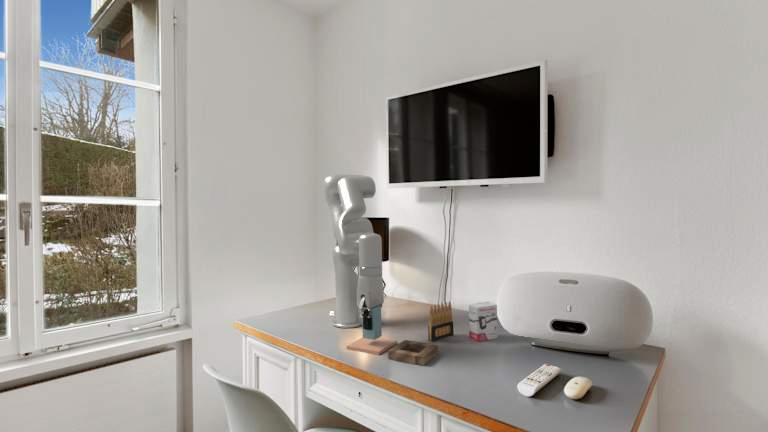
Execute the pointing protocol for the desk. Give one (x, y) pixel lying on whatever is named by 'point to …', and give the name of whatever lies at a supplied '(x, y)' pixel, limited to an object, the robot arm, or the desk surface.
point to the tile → (372, 345)
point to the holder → (413, 352)
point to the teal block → (374, 324)
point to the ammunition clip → (440, 322)
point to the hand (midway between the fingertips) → (371, 326)
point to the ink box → (483, 321)
